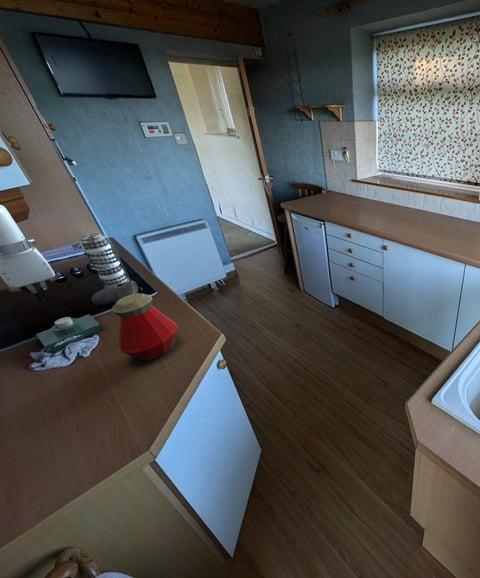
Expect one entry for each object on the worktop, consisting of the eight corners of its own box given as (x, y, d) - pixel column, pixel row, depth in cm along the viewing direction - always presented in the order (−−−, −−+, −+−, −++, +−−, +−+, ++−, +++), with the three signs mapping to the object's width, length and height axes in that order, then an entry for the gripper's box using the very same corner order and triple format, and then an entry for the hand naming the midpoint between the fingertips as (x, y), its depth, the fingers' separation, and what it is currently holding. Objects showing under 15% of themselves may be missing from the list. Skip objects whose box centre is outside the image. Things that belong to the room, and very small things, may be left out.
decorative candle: (117, 296, 123) (86, 240, 111) (101, 293, 126) (69, 238, 113) (138, 286, 131) (111, 232, 118) (123, 283, 133) (95, 230, 120)
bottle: (169, 330, 103) (145, 281, 93) (193, 341, 98) (171, 290, 88) (118, 359, 91) (84, 306, 81) (143, 373, 86) (110, 318, 76)
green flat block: (49, 352, 94) (40, 341, 92) (40, 339, 99) (32, 329, 97) (103, 329, 104) (96, 319, 102) (92, 319, 109) (86, 309, 107)
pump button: (59, 330, 97) (56, 325, 96) (56, 326, 99) (52, 321, 98) (75, 324, 100) (72, 319, 99) (71, 320, 102) (68, 315, 101)
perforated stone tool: (95, 309, 115) (86, 294, 111) (96, 304, 118) (87, 289, 115) (141, 297, 123) (134, 282, 119) (141, 292, 126) (134, 278, 123)
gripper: (43, 238, 92) (73, 288, 102) (-32, 253, 82) (10, 307, 91) (49, 242, 89) (80, 294, 98) (-28, 259, 78) (15, 315, 87)
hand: (46, 300), depth 94 cm, fingers closed
